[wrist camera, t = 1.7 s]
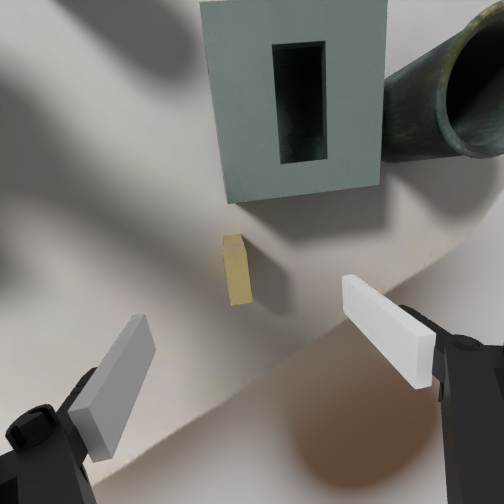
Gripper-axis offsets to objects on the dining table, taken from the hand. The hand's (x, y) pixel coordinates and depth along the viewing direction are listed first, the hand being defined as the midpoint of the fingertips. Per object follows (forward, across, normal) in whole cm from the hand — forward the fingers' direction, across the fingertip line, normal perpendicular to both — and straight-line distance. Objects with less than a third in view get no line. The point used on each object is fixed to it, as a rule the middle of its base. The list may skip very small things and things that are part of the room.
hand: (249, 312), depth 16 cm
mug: (+18, +24, +14) cm, 33 cm away
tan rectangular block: (+17, 0, -1) cm, 17 cm away
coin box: (+17, +7, +13) cm, 23 cm away
